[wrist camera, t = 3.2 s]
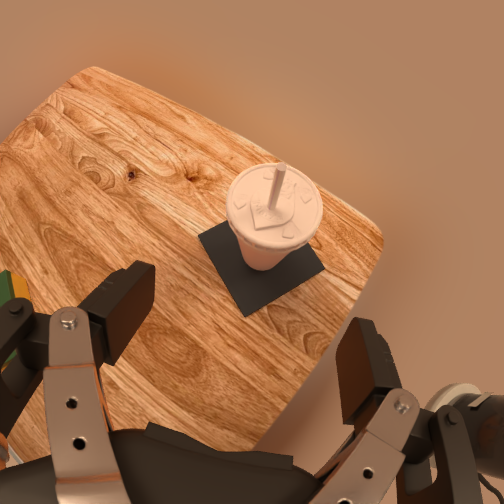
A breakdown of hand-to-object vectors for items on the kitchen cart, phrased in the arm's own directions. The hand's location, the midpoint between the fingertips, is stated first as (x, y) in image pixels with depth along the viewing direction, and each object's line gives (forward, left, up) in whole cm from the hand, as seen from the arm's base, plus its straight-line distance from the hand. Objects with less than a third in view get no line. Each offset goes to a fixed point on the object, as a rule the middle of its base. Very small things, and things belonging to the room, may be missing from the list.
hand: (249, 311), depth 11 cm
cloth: (+5, -5, -15) cm, 17 cm away
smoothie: (+5, -5, -15) cm, 17 cm away
